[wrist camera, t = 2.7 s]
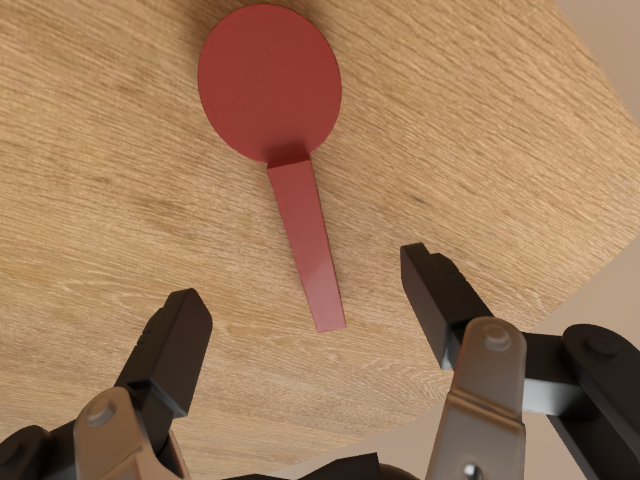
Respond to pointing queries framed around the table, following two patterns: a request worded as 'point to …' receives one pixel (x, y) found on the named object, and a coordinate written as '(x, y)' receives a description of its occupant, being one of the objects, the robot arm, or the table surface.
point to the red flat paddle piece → (280, 125)
